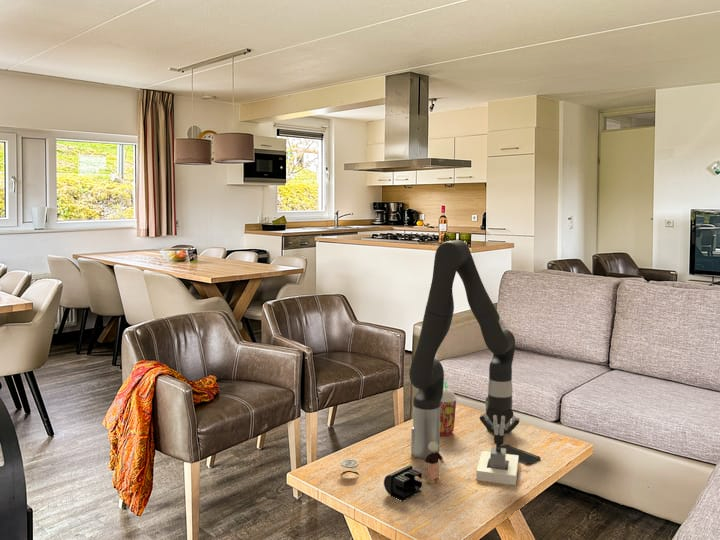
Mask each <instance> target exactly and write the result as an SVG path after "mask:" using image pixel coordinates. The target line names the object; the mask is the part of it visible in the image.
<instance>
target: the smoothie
mask: <svg viewBox="0 0 720 540" xmlns="http://www.w3.org/2000/svg"><path fill="white" fill-rule="evenodd" d="M456 407H457V397H456V395H455V392H454V391H453V390H452V389H450V388H448V387H447V380H445V381H444V387H443V396H442V399H441V402H440V435H441V436H446V437H447V436H451V435H452V434H453V432H454V430H455V420H456V419H455V418H456V409H457V408H456Z"/></svg>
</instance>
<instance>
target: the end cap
mask: <svg viewBox="0 0 720 540" xmlns="http://www.w3.org/2000/svg"><path fill="white" fill-rule="evenodd" d="M416 477H418V478H419V479H422V478H423V472H421V471H418V470H416V469H414V465H412V464H411V465H410V464H409V465H406V466H404V467H403V468H400V469H398V470H396V471H394V472H392V473H390V474H388V475H386V476H385V477H384V480H383V486H384V489H385V491H386V493H387V494H389V495H391V496H390V497H392V496H393V497H395V498H394V499H396V498H397V499H396V500H398V499H399V500H398V501H400V500H401V502H405V501H406V500H408V499H410V498H412V497H414V496H415V494H416V495H417V493H418V494H419V493H421V492H422V489H421V488H423V482H422V481H421V480H418V479H416ZM411 496H412V497H411ZM393 497H392V498H393ZM407 498H408V499H407ZM404 500H405V501H404Z"/></svg>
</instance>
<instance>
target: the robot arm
mask: <svg viewBox="0 0 720 540" xmlns="http://www.w3.org/2000/svg"><path fill="white" fill-rule="evenodd" d="M476 266H477V265H476V264H475V261H474V258H473V255H472V252H471V250H470V247H469V246H468V244H467V243H465V242H464V241H463V240H459V239H454V240H448V241H444V242H442V243H441V244H439V245H438V247H437V248H436V251H435V253H434V261H433V269H432V270H433V271H432V279H431V284H430V288H429V293H428V296H427V302H426V305H425V308H424V315H423V318H422V323H421V325H422V326H421V328H420V333H419V338H418V341H417V347H416V348H415V349H416V350H415V353H414V355H413V358H412V362H411V364H410V368H409V373H408V374H409V380H410V383H411V385H413V387H414V388H416V389H418V390H417V392H416V394H415V395H414V396H413V399H412V401H413V402H412V406H413V407H412V408H413V411H412V427H411V433H410V436H411V439H410V440H411V441H410V442H411V445H410V451H411V452H410V455H411V456H415V457H417V458H419V459H424V460H425V459H426V457H427V456H428V455H429V454H431V452H430V451H429V449H428V444H429V443H430V442H433V441H434V442H436V443H437V444H438V446H439V448H438V450H437V453H439V454H440V447H441V446H440V444H441V443H440V439H441V438H440V402H441V399H442V396H443V388H444V386H445V381H444V380H445V371H444V366H443V364H442V363H441V362H440V361H439V359H437V358H436V354H437V352H438V351H439V349H440V346H441V344H442V343H443V342H444V340H445V338H446V336H447V335H448V332H450V328H451V326H452V320H453V316H454V310H455V302H454V295H453V294H454V292H453V285H454V280H455V277H456V273H457V274H458V276H459V277H460V280H461V282H462V283H463V287H464V290H465V295H466V300H467V303H468V306H469V309H470V310H471V312H472V314H473V316H474V318H475V320H476V321H477V323H478V325H479V327H480V331H481V336H482V338H483V340H484V343H485V346H486V347H487V349H488V350H489V351H490V352H491V353H492V354H493V355H492V359H491V360H490V362H489V369H488V374H489V375H488V385H487V397H488V408H487V410H486V409H485V412H484V413H483V414H482V413H481V414H480V415H479V421H480V422H481V424H483V426H484V427H485V428H486V430H487V431H488V432H489V433H491V434H493V435H494V438H493V440H494V441H493V442H494V445H495V447H496V446H500V447H501V446H502V445H504V438H505V437H504V436H505V435H509V434H510V433H511V432H512V431H513V430H514V429H515V428H516V427H517V426H518V425H519V424H520V417H517V416H516V415H514V411H513V403H512V401H513V380H512V378H513V367H512V366H513V361H514V356H515V351H516V350H515V349H516V339H515V335H514V334H513V332H511V331H510V330H509V329H505V328H504V329H502V327H501V325H500V322H499V321H500V314H499V312H498V310H497V308H496V305H494V303H493V301H492V300H491V298H490V296H489V294H488V292H487V290H486V288H485V285H484V283H483V282H482V279H481V276H480V274H479V271H478V267H476ZM487 416H488V417H489V419H490V420H491V422H492V423H494V428H493V427H492V426H491V424H490V423H489V421H488V420H487V419H488V417H487ZM509 420H511V421H510V425H509V426H508V428H507V429H504V428H505V424H507V423H508V422H509ZM499 424H500V433H499V426H498V425H499Z"/></svg>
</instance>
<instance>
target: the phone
mask: <svg viewBox="0 0 720 540" xmlns="http://www.w3.org/2000/svg"><path fill="white" fill-rule="evenodd" d="M501 448H505V449H506V454H511V455H519V460H518V463H520V464H523V465H525V466H531V465H533V464H536V463H537V462H540V461H541V457H540V456H539V455H536V454H533V453H530V452H528V451H525V450H524V449H523V450H522V449H520V448H517V447H514V446H512V445H510V444H503V445H501Z"/></svg>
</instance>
